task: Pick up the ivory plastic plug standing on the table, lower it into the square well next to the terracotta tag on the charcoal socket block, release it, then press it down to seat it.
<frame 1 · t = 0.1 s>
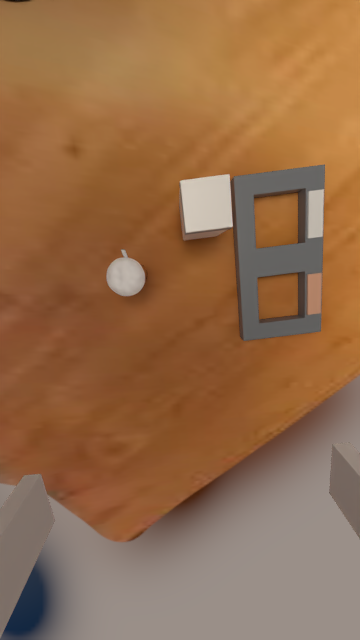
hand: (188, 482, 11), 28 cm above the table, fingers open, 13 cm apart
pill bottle: (137, 270, 36), on the table
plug: (198, 220, 34), on the table
socket block: (275, 260, 36), on the table
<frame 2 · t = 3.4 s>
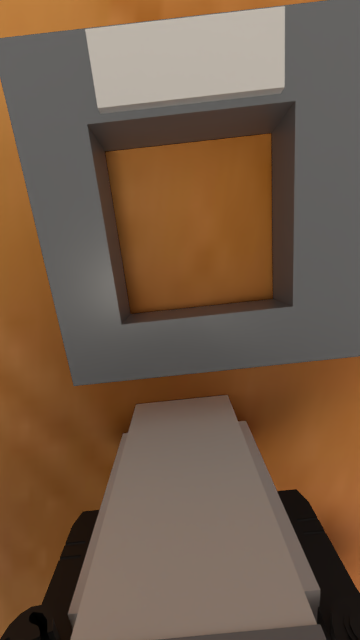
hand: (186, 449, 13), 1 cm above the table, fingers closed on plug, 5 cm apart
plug: (186, 438, 13), on the table, touching gripper
socket block: (316, 217, 11), on the table
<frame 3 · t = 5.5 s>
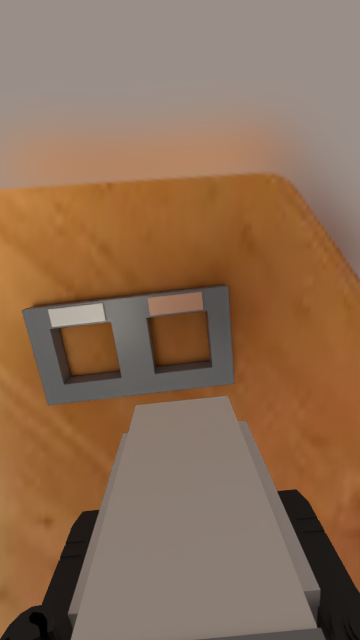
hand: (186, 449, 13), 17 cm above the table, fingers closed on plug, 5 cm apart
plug: (186, 439, 13), point 17 cm above the table, touching gripper
socket block: (136, 343, 29), on the table
when the fingers open (3 cm above the table, at t = 7.8 s): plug drops 3 cm, resting in socket block.
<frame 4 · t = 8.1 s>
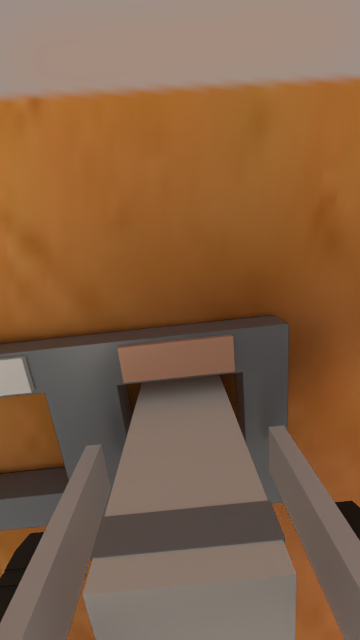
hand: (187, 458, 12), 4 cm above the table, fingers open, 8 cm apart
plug: (184, 411, 16), resting in socket block
socket block: (103, 419, 16), on the table
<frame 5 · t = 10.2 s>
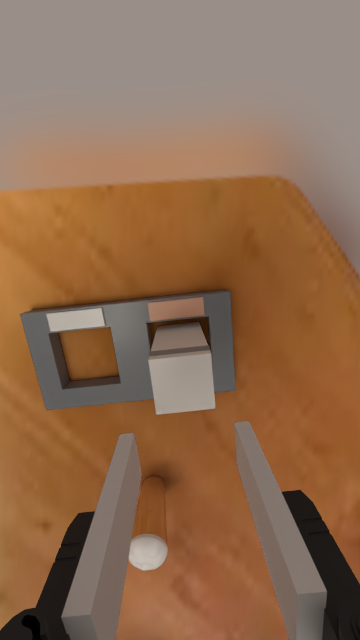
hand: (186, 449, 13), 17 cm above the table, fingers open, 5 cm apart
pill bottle: (150, 483, 34), on the table
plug: (180, 343, 29), resting in socket block
socket block: (135, 348, 29), on the table
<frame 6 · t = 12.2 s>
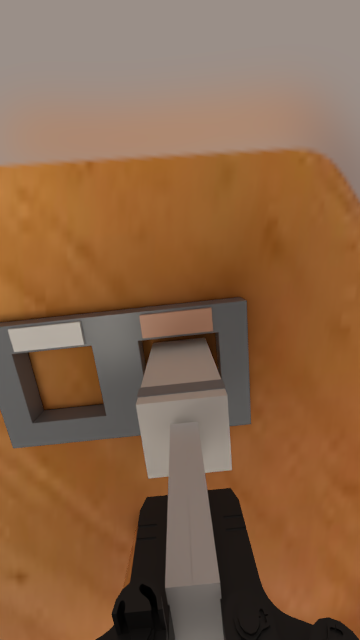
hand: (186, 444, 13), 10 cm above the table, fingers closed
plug: (181, 364, 23), resting in socket block
socket block: (125, 369, 23), on the table
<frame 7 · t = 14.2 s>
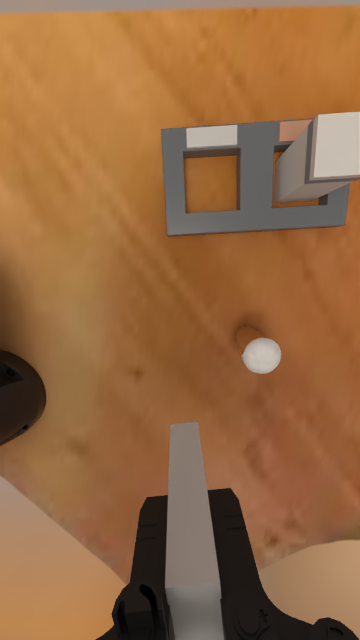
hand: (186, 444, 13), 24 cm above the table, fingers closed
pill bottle: (242, 334, 36), on the table
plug: (293, 181, 31), resting in socket block
socket block: (252, 183, 31), on the table
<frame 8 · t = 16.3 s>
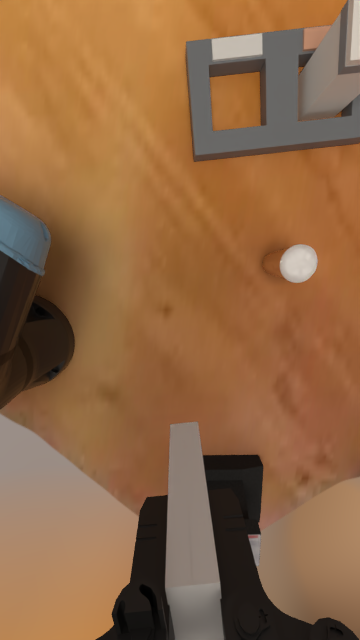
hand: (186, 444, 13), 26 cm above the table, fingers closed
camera: (215, 484, 47), on the table
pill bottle: (269, 263, 37), on the table
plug: (316, 97, 31), resting in socket block
socket block: (275, 101, 31), on the table
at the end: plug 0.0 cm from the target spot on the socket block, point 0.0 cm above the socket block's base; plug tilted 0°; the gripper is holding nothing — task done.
